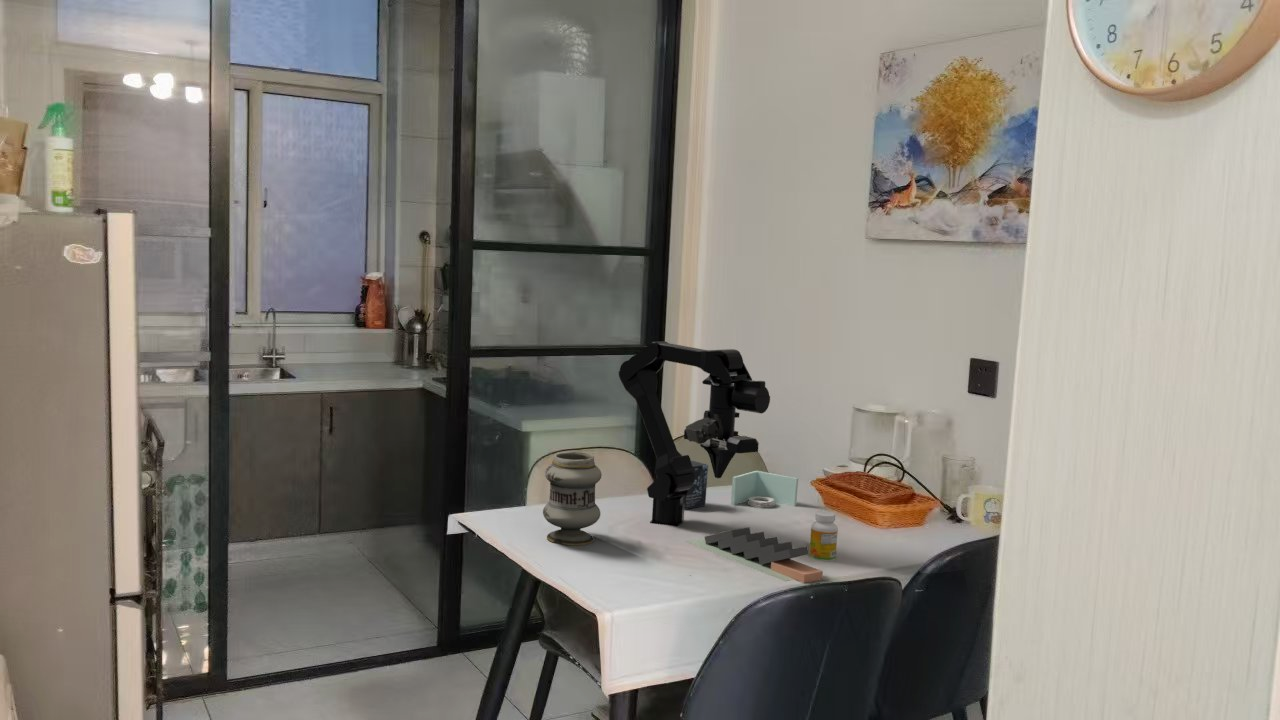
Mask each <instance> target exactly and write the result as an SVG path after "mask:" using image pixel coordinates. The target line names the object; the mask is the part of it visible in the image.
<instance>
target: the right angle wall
mask: <svg viewBox="0 0 1280 720" xmlns="http://www.w3.org/2000/svg"><path fill="white" fill-rule="evenodd" d="M731 482H732V484H731V486H732V487H731V496H730V497H731V498H730V499H731V501H730V505H731V506H735V505H739V504H738V503H740V504H742V502H743V503H745V501H746V502H747V505H748V506H751V507H752V508H756V509H766V508H767V509H772V508H774V507H775V505H776V504H780V503H781V504H780V505H785V504H786V506H790V505H791V507H796V506H797V503H798V502H797V500H798V489H799V486H798V485H799V478H798V477H793V476H786V475H782V474H778V473H777V474H776V473H770V472H768V471H767V472H766V471H761V470H754V471H750V472H747V473H743V474H740V475H739V474H738V475H735V476H732V481H731ZM748 500H749V501H748ZM775 502H776V503H775Z"/></svg>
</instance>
